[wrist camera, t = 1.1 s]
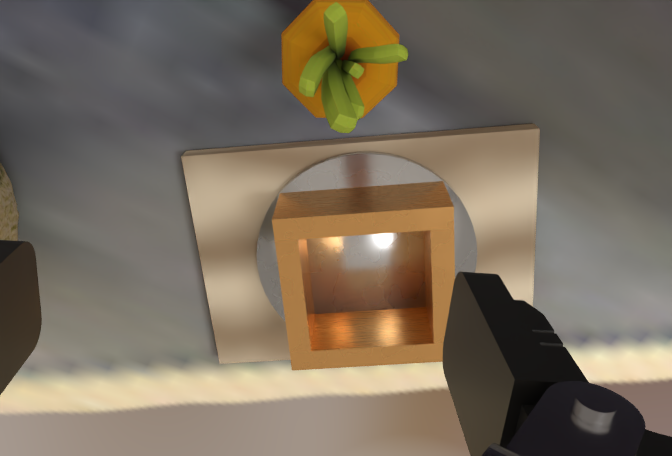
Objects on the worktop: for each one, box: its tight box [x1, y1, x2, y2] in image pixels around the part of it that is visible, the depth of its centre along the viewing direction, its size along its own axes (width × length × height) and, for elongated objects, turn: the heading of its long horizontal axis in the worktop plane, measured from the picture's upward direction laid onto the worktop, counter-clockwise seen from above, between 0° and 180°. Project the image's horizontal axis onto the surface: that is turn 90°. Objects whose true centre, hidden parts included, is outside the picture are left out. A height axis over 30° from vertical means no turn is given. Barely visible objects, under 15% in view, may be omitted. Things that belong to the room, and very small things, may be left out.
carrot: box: [281, 0, 408, 133], centre depth 27 cm, size 5×5×15 cm
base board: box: [181, 124, 540, 364], centre depth 38 cm, size 14×20×1 cm
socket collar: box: [257, 151, 477, 370], centre depth 36 cm, size 13×13×5 cm
